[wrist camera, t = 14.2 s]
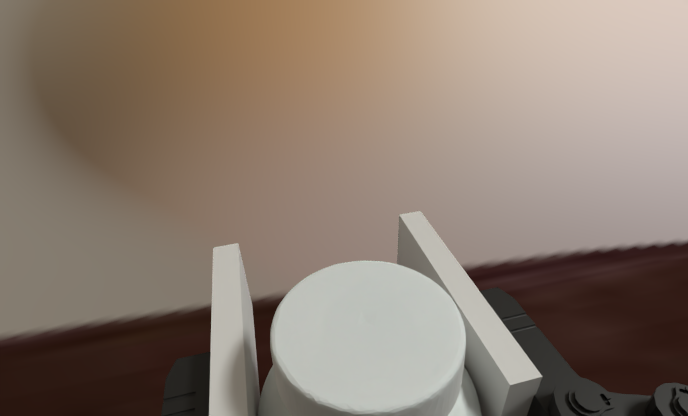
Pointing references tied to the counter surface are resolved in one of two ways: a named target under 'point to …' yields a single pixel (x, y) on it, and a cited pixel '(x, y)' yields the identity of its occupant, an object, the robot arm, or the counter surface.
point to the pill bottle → (368, 347)
